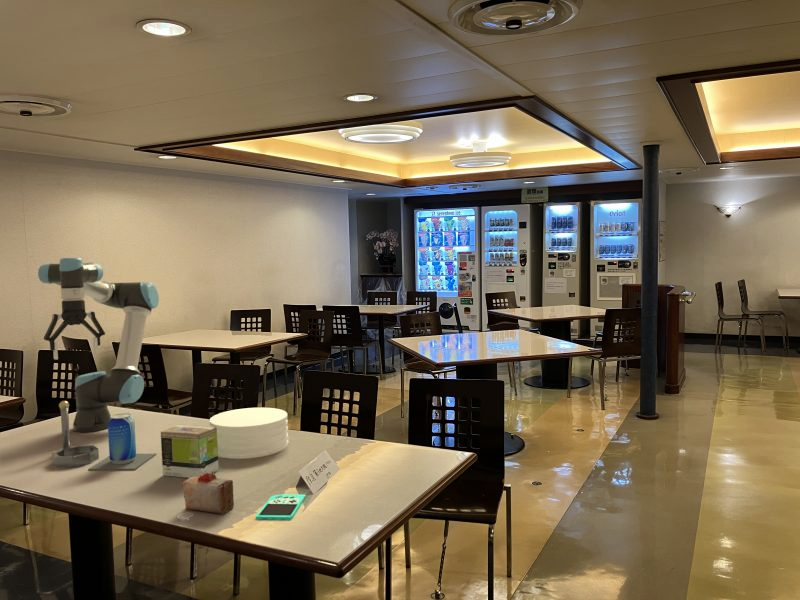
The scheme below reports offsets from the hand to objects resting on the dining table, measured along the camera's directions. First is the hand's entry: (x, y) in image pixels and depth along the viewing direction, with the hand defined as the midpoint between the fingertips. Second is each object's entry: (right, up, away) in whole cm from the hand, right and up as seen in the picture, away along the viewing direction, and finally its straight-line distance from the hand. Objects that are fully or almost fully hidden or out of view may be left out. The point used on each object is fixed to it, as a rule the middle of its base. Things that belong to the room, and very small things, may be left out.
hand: (76, 357), depth 227 cm
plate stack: (+64, -34, +1) cm, 73 cm away
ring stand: (+4, -35, -10) cm, 37 cm away
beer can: (+24, -35, -15) cm, 45 cm away
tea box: (+52, -36, -27) cm, 68 cm away
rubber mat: (+24, -35, -15) cm, 45 cm away
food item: (+67, -37, -56) cm, 95 cm away
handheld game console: (+87, -37, -57) cm, 111 cm away
